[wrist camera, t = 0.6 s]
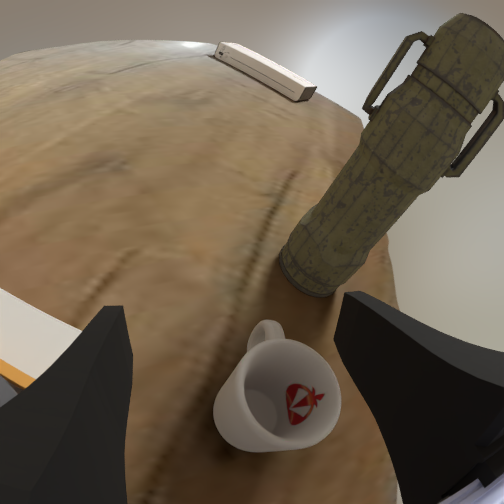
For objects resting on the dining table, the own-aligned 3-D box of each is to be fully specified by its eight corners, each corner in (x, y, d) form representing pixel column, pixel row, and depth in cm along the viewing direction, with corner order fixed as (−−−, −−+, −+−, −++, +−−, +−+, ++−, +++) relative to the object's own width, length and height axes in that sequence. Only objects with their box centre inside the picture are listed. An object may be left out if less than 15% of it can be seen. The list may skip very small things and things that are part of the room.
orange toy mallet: (93, 433, 17) (91, 427, 15) (-51, 349, 14) (-65, 332, 12) (101, 410, 18) (100, 401, 16) (-41, 330, 15) (-54, 312, 14)
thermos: (343, 316, 37) (550, 81, 14) (259, 267, 37) (447, -17, 14) (350, 270, 44) (511, 68, 21) (278, 226, 43) (427, -3, 20)
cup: (200, 342, 28) (231, 294, 22) (279, 351, 30) (324, 310, 25) (202, 461, 21) (241, 451, 15) (292, 458, 23) (351, 441, 18)
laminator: (308, 101, 97) (317, 86, 93) (295, 104, 88) (305, 87, 84) (230, 57, 101) (237, 43, 97) (211, 57, 92) (217, 41, 88)
